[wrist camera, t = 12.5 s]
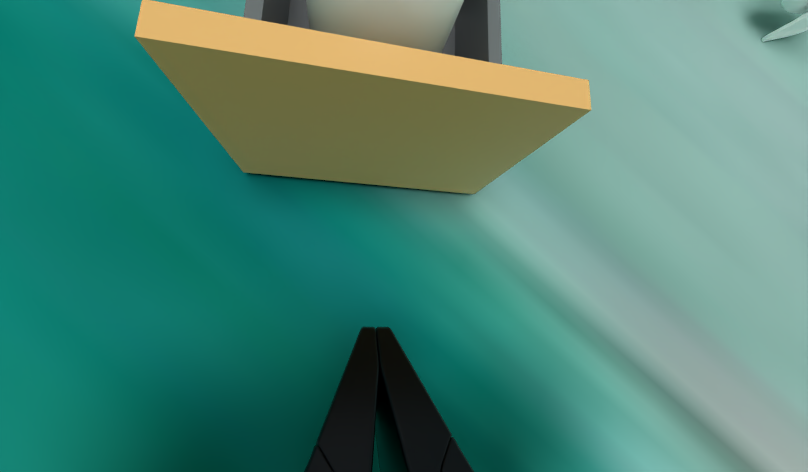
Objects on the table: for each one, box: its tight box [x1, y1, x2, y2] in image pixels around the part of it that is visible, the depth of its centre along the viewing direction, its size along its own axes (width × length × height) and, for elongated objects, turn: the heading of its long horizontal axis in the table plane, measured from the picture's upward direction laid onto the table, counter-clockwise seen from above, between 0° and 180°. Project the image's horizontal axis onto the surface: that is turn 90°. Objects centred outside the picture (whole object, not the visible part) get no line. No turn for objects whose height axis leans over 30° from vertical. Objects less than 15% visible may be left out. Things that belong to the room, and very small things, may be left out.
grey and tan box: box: [135, 0, 591, 194], centre depth 13 cm, size 11×12×8 cm
